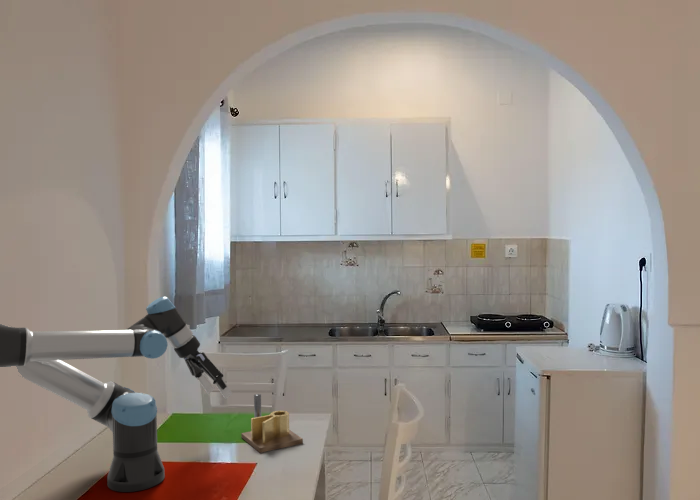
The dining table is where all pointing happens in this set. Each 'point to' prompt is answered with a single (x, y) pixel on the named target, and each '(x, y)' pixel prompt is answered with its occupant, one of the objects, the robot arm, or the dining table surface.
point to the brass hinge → (270, 426)
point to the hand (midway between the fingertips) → (220, 393)
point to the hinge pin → (257, 405)
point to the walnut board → (272, 442)
